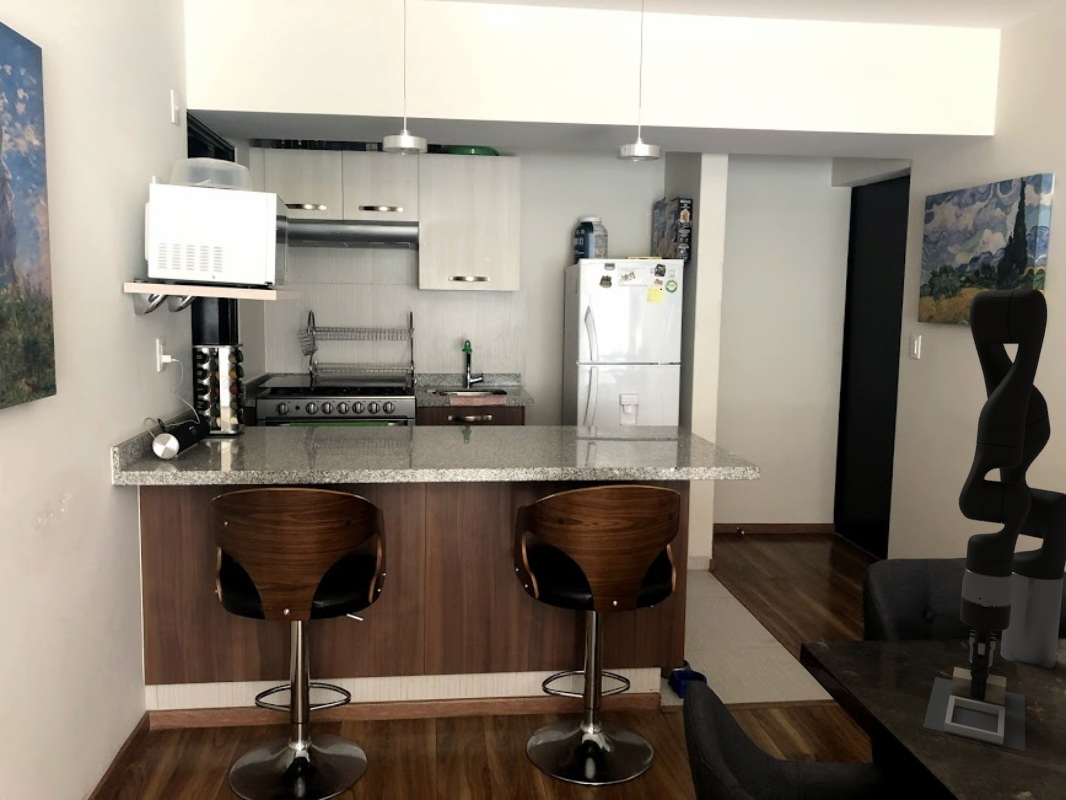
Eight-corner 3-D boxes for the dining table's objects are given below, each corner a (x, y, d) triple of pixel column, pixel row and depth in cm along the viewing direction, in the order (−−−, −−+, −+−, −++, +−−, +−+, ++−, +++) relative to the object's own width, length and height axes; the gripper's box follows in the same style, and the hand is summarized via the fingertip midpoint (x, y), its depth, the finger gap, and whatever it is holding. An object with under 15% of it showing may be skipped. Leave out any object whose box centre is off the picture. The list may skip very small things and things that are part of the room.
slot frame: (949, 702, 145) (950, 695, 145) (1004, 714, 141) (1004, 707, 141) (943, 730, 135) (944, 723, 135) (1002, 744, 131) (1003, 736, 131)
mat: (934, 681, 155) (935, 676, 155) (1024, 700, 149) (1024, 695, 148) (922, 731, 136) (923, 726, 136) (1024, 756, 129) (1025, 751, 129)
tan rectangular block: (951, 692, 149) (952, 676, 148) (953, 683, 153) (954, 666, 152) (1004, 704, 145) (1005, 687, 145) (1004, 694, 149) (1006, 677, 149)
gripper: (964, 582, 155) (957, 670, 157) (959, 604, 143) (951, 700, 144) (1012, 589, 151) (1004, 679, 153) (1011, 613, 139) (1002, 711, 141)
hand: (978, 689), depth 149 cm, fingers open, 7 cm apart
